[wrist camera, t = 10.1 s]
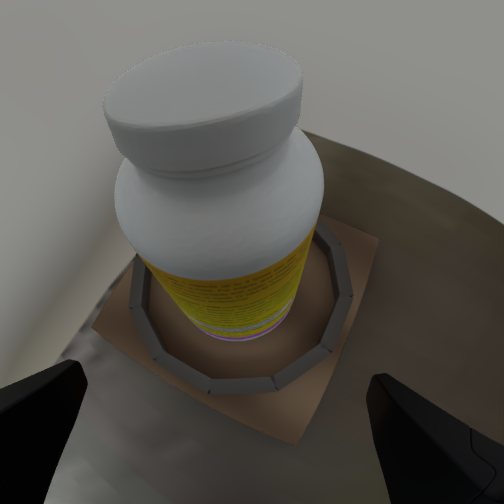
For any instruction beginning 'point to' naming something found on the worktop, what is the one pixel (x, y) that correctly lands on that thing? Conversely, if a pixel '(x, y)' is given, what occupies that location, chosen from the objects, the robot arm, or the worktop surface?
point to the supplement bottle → (217, 180)
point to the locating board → (256, 350)
